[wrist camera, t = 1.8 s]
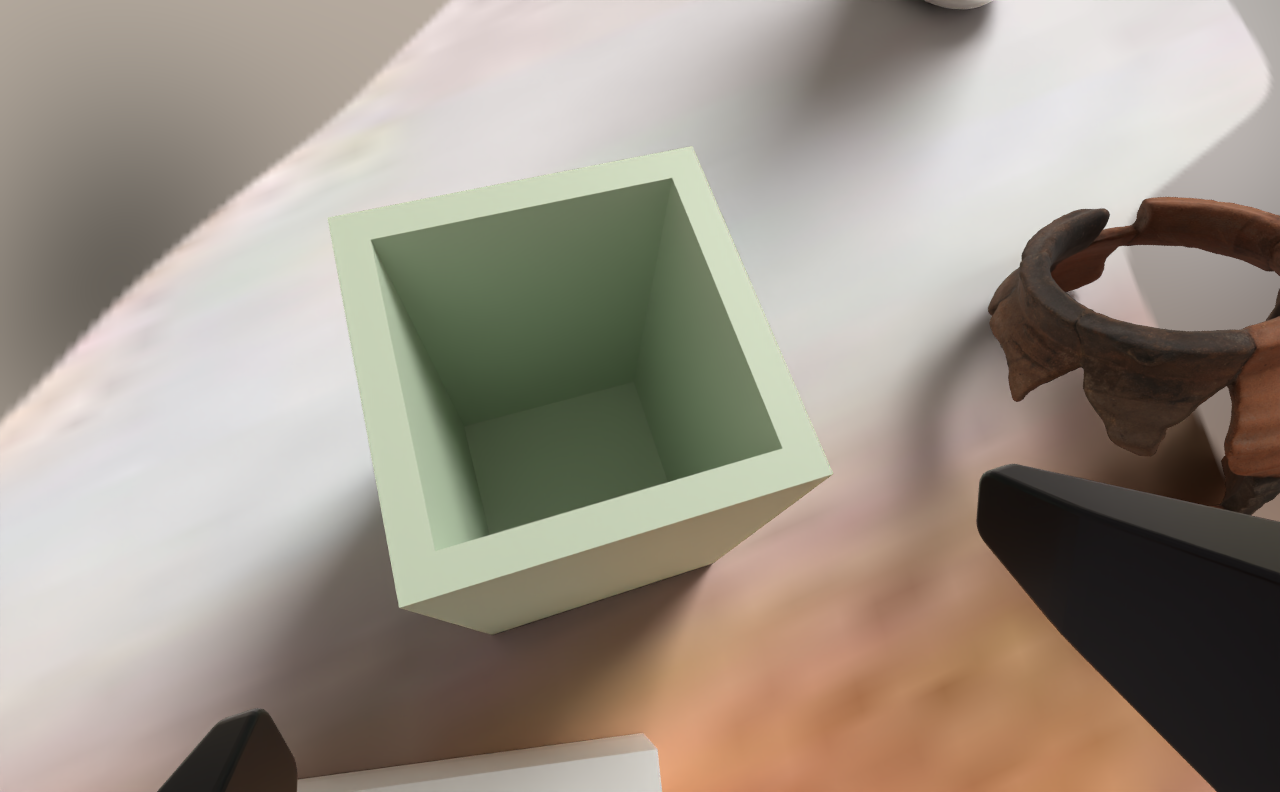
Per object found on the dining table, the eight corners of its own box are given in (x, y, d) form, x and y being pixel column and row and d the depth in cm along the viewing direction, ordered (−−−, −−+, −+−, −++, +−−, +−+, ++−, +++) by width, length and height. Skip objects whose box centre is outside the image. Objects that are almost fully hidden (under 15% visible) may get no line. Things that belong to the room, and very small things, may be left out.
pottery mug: (1043, 601, 20) (1107, 415, 15) (922, 395, 27) (935, 217, 22) (1473, 520, 19) (1716, 286, 14) (1231, 326, 26) (1327, 120, 21)
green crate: (712, 563, 19) (833, 474, 10) (492, 634, 18) (398, 607, 9) (644, 367, 21) (692, 145, 12) (443, 420, 20) (327, 217, 11)
